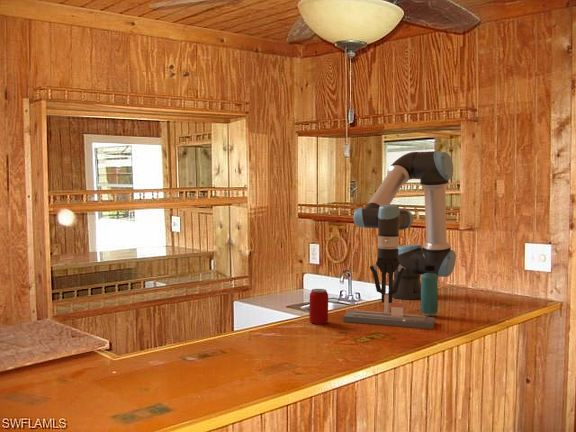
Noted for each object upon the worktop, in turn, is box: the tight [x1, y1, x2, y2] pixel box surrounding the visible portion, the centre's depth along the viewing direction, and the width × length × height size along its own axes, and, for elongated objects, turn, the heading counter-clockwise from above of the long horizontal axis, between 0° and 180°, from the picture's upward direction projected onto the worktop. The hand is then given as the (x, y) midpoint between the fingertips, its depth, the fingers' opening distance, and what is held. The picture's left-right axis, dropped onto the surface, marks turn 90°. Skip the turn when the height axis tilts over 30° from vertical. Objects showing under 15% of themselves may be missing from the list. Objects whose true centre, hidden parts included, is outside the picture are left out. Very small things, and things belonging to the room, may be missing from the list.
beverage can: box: [308, 288, 329, 325], centre depth 222 cm, size 7×7×12 cm
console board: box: [342, 310, 436, 330], centre depth 224 cm, size 10×32×3 cm, turn 72°
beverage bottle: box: [420, 265, 439, 315], centre depth 234 cm, size 6×7×20 cm
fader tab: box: [390, 301, 405, 317], centre depth 223 cm, size 3×4×5 cm
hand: (386, 311), depth 224 cm, fingers closed
